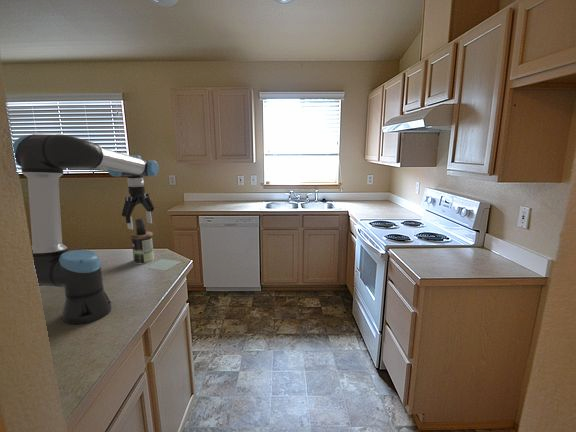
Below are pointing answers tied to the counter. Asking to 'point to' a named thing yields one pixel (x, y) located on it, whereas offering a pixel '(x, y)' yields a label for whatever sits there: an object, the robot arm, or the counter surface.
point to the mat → (163, 264)
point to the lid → (140, 230)
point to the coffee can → (142, 250)
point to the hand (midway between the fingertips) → (140, 226)
